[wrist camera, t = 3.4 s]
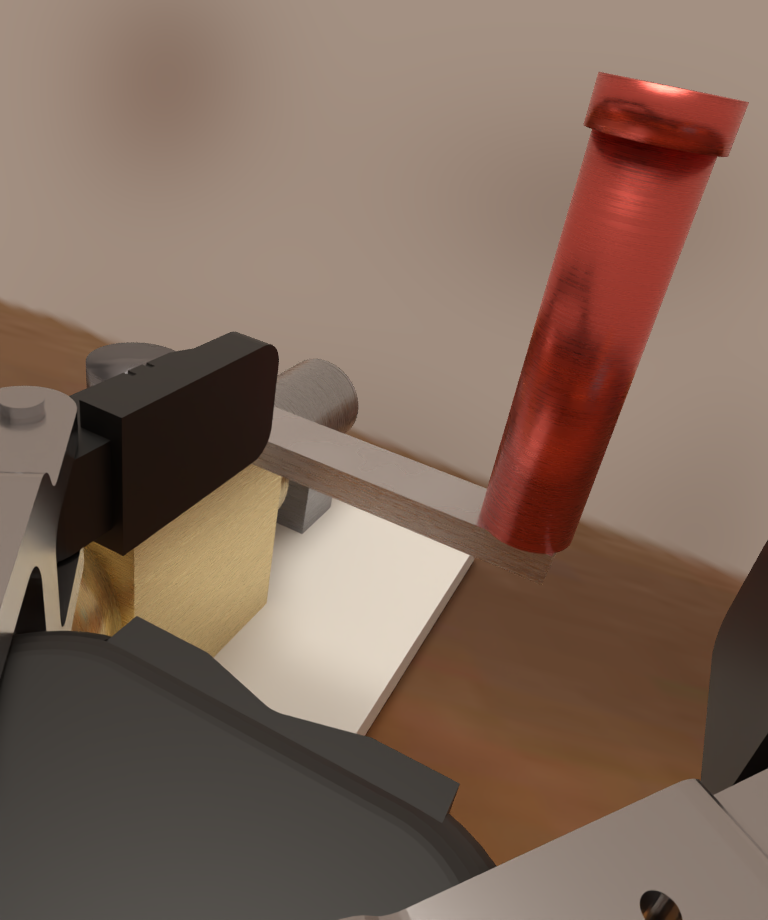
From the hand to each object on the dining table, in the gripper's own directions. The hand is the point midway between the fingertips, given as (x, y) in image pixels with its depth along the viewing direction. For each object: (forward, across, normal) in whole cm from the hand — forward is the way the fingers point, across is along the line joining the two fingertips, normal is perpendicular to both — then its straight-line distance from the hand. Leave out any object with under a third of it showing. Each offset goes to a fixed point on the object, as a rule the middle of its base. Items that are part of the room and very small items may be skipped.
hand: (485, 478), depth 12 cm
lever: (+8, +7, +7) cm, 12 cm away
